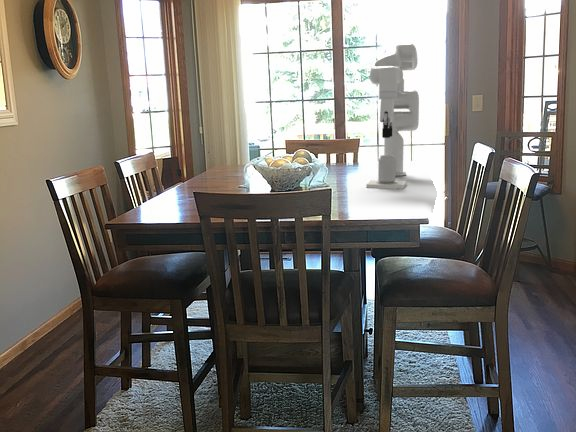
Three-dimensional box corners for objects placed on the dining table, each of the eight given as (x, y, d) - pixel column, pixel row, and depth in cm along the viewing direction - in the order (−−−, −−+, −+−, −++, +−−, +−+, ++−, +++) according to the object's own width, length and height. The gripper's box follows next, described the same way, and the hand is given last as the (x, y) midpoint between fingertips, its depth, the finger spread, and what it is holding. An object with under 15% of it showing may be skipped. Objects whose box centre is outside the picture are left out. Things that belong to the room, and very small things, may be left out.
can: (396, 183, 268) (397, 156, 266) (379, 183, 268) (379, 156, 266) (394, 181, 275) (394, 154, 273) (377, 181, 275) (377, 154, 273)
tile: (371, 183, 280) (371, 180, 280) (406, 184, 276) (406, 181, 275) (366, 187, 268) (366, 184, 268) (403, 188, 263) (403, 184, 263)
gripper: (382, 95, 274) (381, 135, 277) (376, 96, 257) (375, 138, 261) (398, 95, 271) (398, 135, 275) (394, 95, 255) (393, 138, 258)
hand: (387, 136), depth 268 cm, fingers open, 7 cm apart
